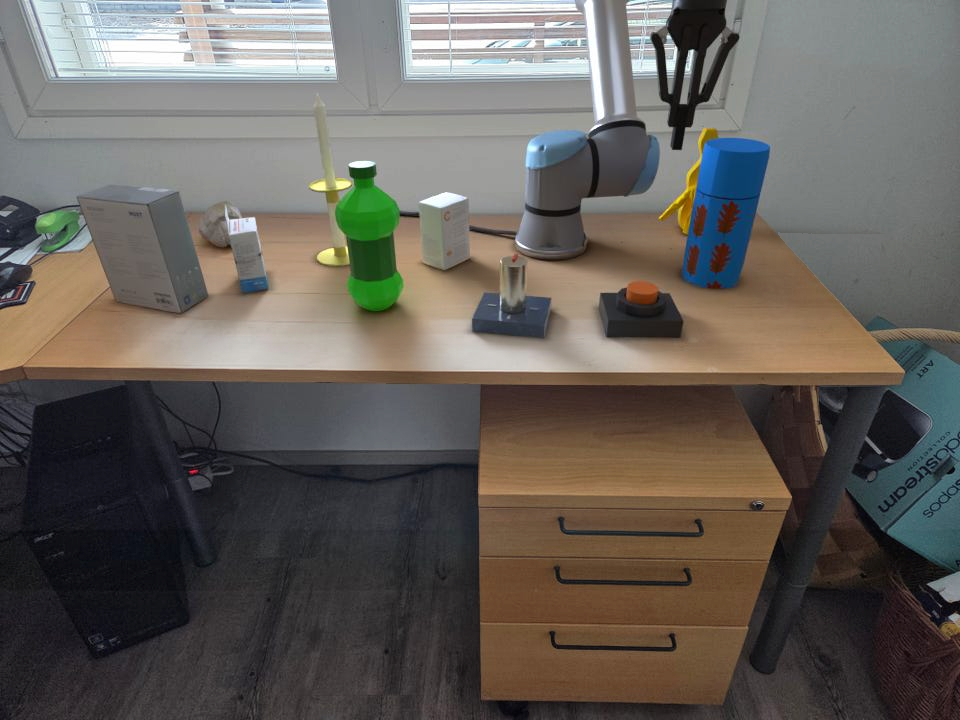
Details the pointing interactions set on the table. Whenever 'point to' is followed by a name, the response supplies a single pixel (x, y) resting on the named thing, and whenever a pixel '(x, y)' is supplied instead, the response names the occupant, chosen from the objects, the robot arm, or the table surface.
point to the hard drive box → (144, 246)
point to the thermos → (724, 211)
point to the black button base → (639, 316)
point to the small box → (445, 230)
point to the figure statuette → (690, 186)
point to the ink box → (247, 253)
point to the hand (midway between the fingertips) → (675, 147)
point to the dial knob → (513, 284)
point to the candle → (329, 191)
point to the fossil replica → (218, 223)
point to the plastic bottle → (370, 239)
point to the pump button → (642, 292)
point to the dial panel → (512, 317)
